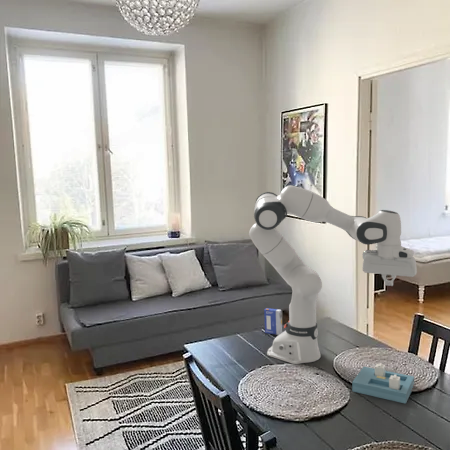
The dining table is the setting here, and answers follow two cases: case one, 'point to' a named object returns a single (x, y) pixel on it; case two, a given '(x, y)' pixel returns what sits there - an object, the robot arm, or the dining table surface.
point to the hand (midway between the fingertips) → (389, 285)
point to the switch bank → (382, 385)
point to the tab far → (380, 370)
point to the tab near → (394, 382)
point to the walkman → (273, 321)
